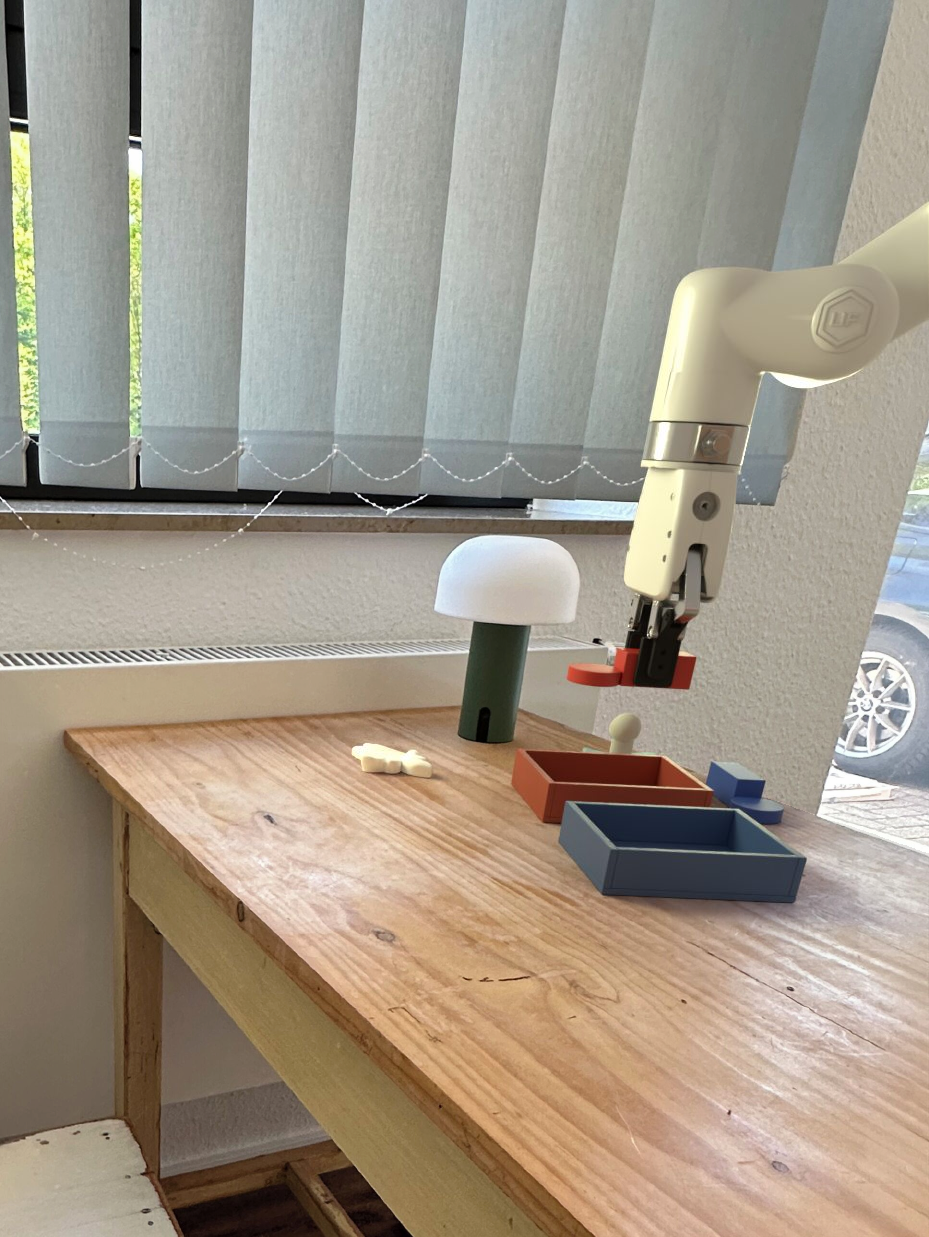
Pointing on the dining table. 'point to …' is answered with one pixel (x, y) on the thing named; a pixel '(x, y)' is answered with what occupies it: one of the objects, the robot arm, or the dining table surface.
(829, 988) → the dining table surface
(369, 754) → the acanthus leaf ornament
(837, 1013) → the dining table surface
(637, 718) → the pacifier
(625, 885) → the blue bin
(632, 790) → the red bin
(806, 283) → the robot arm
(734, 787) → the blue disc paddle
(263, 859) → the dining table surface
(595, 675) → the red disc paddle
